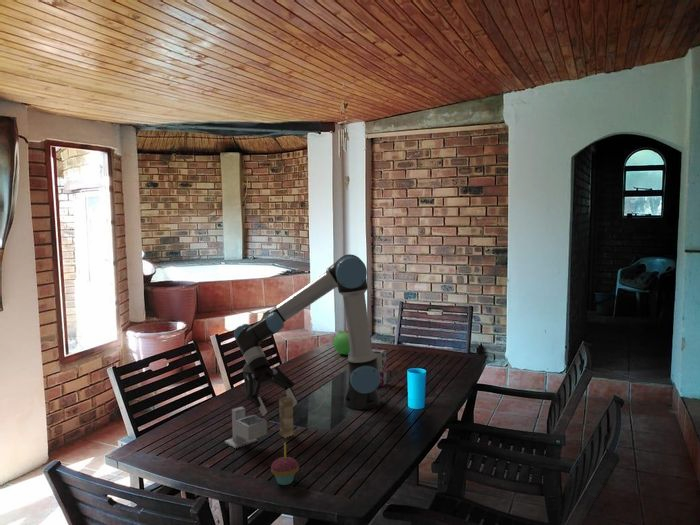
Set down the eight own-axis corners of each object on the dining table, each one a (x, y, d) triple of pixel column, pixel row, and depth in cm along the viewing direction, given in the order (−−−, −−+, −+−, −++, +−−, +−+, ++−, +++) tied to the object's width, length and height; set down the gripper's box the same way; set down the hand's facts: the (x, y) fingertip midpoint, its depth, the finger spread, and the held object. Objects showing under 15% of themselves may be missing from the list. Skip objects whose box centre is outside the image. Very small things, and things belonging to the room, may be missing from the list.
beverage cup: (255, 399, 232) (255, 354, 230) (240, 398, 233) (239, 353, 231) (262, 393, 239) (261, 350, 237) (246, 392, 240) (245, 349, 239)
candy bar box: (386, 383, 253) (386, 349, 251) (383, 386, 248) (383, 352, 247) (364, 380, 257) (364, 347, 255) (361, 383, 252) (361, 350, 251)
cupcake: (272, 475, 165) (271, 437, 164) (299, 473, 166) (298, 436, 164) (270, 489, 156) (269, 450, 155) (299, 487, 157) (298, 449, 156)
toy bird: (331, 357, 299) (330, 331, 297) (336, 349, 315) (336, 325, 314) (362, 358, 296) (362, 332, 294) (366, 351, 312) (366, 326, 311)
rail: (279, 435, 194) (279, 398, 193) (287, 432, 196) (286, 396, 195) (285, 438, 192) (285, 400, 190) (293, 435, 194) (292, 398, 193)
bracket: (224, 442, 188) (223, 410, 187) (246, 435, 194) (245, 403, 193) (247, 456, 178) (246, 421, 177) (269, 447, 184) (268, 414, 183)
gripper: (279, 360, 214) (302, 406, 205) (224, 373, 197) (247, 423, 188) (286, 349, 210) (311, 396, 201) (231, 362, 193) (255, 413, 183)
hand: (280, 409), depth 194 cm, fingers open, 13 cm apart
